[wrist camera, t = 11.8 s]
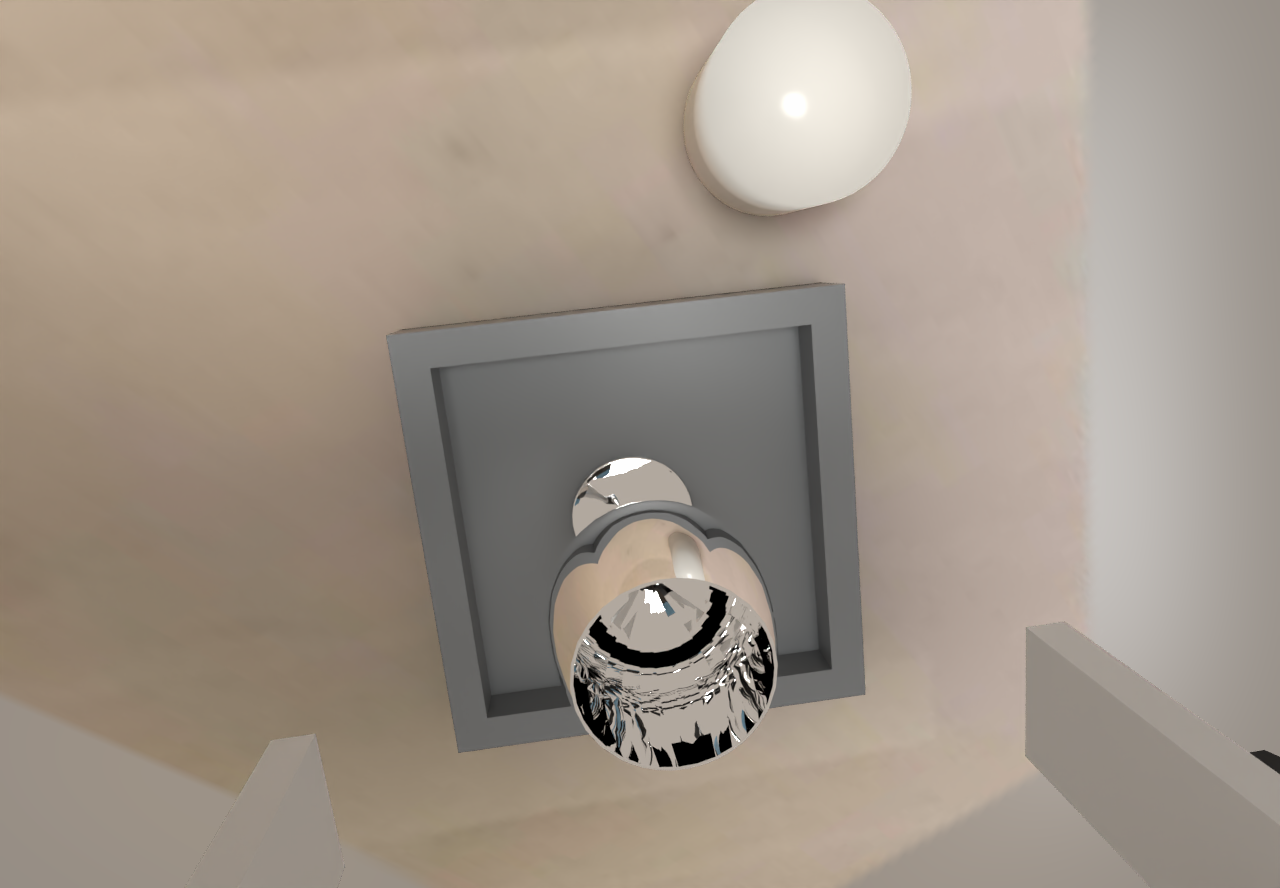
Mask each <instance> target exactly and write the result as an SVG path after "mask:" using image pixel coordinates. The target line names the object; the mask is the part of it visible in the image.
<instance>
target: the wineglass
mask: <svg viewBox="0 0 1280 888" xmlns="http://www.w3.org/2000/svg"><path fill="white" fill-rule="evenodd" d="M571 521H572V528H573V532H574V535H575V539H574V540H573V542H572V543H571V544H570V545H569V547H568V548H567V549H566V551H565V553H564V555H563V556H562V558H561V560H560V562H559V564H558V567H557V569H556V572H555V575H554V577H553V580H552V583H551V587H550V591H549V596H548V609H547V628H548V640H549V646H550V650H551V654H552V658H553V662H554V666H555V669H556V672H557V675H558V677H559V680H560V683H561V685H562V687H563V689H564V691H565V693H566V696H567V698H568V700H569V702H570V704H571V706H572V708H573V710H574V712H575V713H576V715H577V717H578V718H579V720H580V722H581V723H582V725H583V726H584V728H585V730H586V731H587V732H588V733H589V734H590V735H591V736H592V738H593V739H594V740H595V741H596V742H597V743H598V744H599V745H600V746H601V747H602V748H604V749H605V750H607V751H608V752H610V753H611V754H613V755H614V756H616V757H617V758H619V759H621V760H623V761H625V762H627V763H630V764H632V765H636V766H639V767H643V768H648V769H654V770H681V769H689V768H693V767H697V766H700V765H704V764H707V763H710V762H712V761H714V760H716V759H718V758H720V757H722V756H724V755H726V754H728V753H729V752H731V751H732V750H733V749H735V748H736V747H737V746H739V745H740V744H742V743H743V742H744V741H745V740H746V739H747V738H748V737H749V736H750V735H751V734H752V732H753V731H754V730H755V729H756V728H757V727H758V726H759V724H760V722H761V721H762V719H763V717H764V716H765V714H766V713H767V711H768V709H769V707H770V704H771V701H772V698H773V695H774V692H775V689H776V681H777V668H778V643H777V628H776V622H775V616H774V610H773V604H772V600H771V597H770V593H769V590H768V586H767V584H766V581H765V579H764V577H763V574H762V572H761V570H760V568H759V566H758V564H757V562H756V560H755V558H754V557H753V555H752V554H751V552H750V551H749V549H748V548H747V547H746V545H745V544H744V543H743V541H742V540H741V539H740V538H739V537H738V536H737V535H736V534H735V533H734V532H733V531H732V530H731V529H729V528H728V527H727V526H726V525H724V524H723V523H721V522H720V521H719V520H717V519H716V518H714V517H713V516H712V515H710V514H709V513H707V512H705V511H703V510H701V509H698V508H696V507H694V506H693V503H692V499H691V495H690V492H689V490H688V488H687V486H686V484H685V483H684V481H683V480H682V478H681V477H680V476H679V475H678V474H677V473H676V472H675V471H674V470H673V469H672V468H670V467H669V466H667V465H666V464H664V463H662V462H660V461H657V460H655V459H652V458H649V457H642V456H625V457H619V458H616V459H613V460H610V461H607V462H605V463H603V464H602V465H600V466H599V467H597V468H595V469H594V470H593V471H592V472H591V473H590V474H589V475H588V476H587V477H586V478H585V479H584V480H583V482H582V483H581V485H580V486H579V488H578V489H577V492H576V495H575V497H574V500H573V504H572V511H571Z"/></svg>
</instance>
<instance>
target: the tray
mask: <svg viewBox="0 0 1280 888" xmlns="http://www.w3.org/2000/svg"><path fill="white" fill-rule="evenodd" d="M386 337H387V343H388V349H389V355H390V360H391V366H392V372H393V378H394V383H395V389H396V395H397V401H398V407H399V412H400V418H401V424H402V430H403V435H404V441H405V447H406V453H407V458H408V464H409V470H410V476H411V482H412V487H413V493H414V499H415V505H416V510H417V516H418V522H419V528H420V533H421V539H422V545H423V551H424V557H425V562H426V568H427V574H428V580H429V585H430V591H431V597H432V603H433V608H434V614H435V620H436V626H437V632H438V637H439V643H440V649H441V655H442V660H443V666H444V672H445V678H446V683H447V689H448V695H449V701H450V707H451V712H452V718H453V724H454V730H455V735H456V741H457V747H458V753H461V752H468V751H475V750H482V749H489V748H496V747H503V746H510V745H517V744H524V743H531V742H538V741H545V740H552V739H559V738H566V737H573V736H580V735H587V734H589V733H588V732H587V731H586V730H585V728H584V726H583V725H582V723H581V722H580V720H579V718H578V717H577V715H576V713H575V712H574V710H573V708H572V706H571V704H570V702H569V700H568V698H567V696H566V693H565V691H564V689H563V687H562V685H561V683H560V680H559V677H558V675H557V672H556V669H555V666H554V662H553V658H552V654H551V650H550V646H549V640H548V628H547V609H548V596H549V591H550V587H551V583H552V580H553V577H554V575H555V572H556V569H557V567H558V564H559V562H560V560H561V558H562V556H563V555H564V553H565V551H566V549H567V548H568V547H569V545H570V544H571V543H572V542H573V540H574V539H575V535H574V532H573V528H572V521H571V511H572V504H573V500H574V497H575V495H576V492H577V489H578V488H579V486H580V485H581V483H582V482H583V480H584V479H585V478H586V477H587V476H588V475H589V474H590V473H591V472H592V471H593V470H594V469H595V468H597V467H599V466H600V465H602V464H603V463H605V462H607V461H610V460H613V459H616V458H619V457H625V456H642V457H649V458H652V459H655V460H657V461H660V462H662V463H664V464H666V465H667V466H669V467H670V468H672V469H673V470H674V471H675V472H676V473H677V474H678V475H679V476H680V477H681V478H682V480H683V481H684V483H685V484H686V486H687V488H688V490H689V492H690V495H691V499H692V503H693V506H694V507H696V508H698V509H701V510H703V511H705V512H707V513H709V514H710V515H712V516H713V517H714V518H716V519H717V520H719V521H720V522H721V523H723V524H724V525H726V526H727V527H728V528H729V529H731V530H732V531H733V532H734V533H735V534H736V535H737V536H738V537H739V538H740V539H741V540H742V541H743V543H744V544H745V545H746V547H747V548H748V549H749V551H750V552H751V554H752V555H753V557H754V558H755V560H756V562H757V564H758V566H759V568H760V570H761V572H762V574H763V577H764V579H765V581H766V584H767V586H768V590H769V593H770V597H771V600H772V604H773V610H774V616H775V622H776V628H777V643H778V668H777V681H776V689H775V692H774V695H773V698H772V701H771V704H770V707H769V708H775V707H782V706H789V705H796V704H803V703H810V702H816V701H823V700H830V699H837V698H844V697H851V696H858V695H865V675H864V655H863V635H862V616H861V596H860V576H859V556H858V537H857V517H856V497H855V477H854V458H853V438H852V418H851V398H850V379H849V359H848V339H847V319H846V300H845V284H837V283H814V284H805V285H796V286H787V287H778V288H769V289H760V290H751V291H742V292H733V293H724V294H715V295H706V296H698V297H689V298H680V299H671V300H662V301H653V302H644V303H635V304H626V305H617V306H608V307H599V308H590V309H581V310H573V311H564V312H555V313H546V314H537V315H528V316H519V317H510V318H501V319H492V320H483V321H474V322H465V323H457V324H448V325H439V326H430V327H421V328H412V329H403V330H400V331H397V332H394V333H391V334H389V335H386Z"/></svg>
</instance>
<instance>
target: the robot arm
mask: <svg viewBox="0 0 1280 888" xmlns="http://www.w3.org/2000/svg"><path fill="white" fill-rule="evenodd" d="M1025 756H1026V757H1027V758H1028V759H1029V760H1030V761H1031V763H1032V764H1033V765H1034V766H1035V767H1036V768H1037V769H1038V770H1039V771H1040V772H1041V773H1042V774H1043V775H1044V776H1045V777H1046V778H1047V779H1048V780H1049V781H1050V783H1051V784H1052V785H1053V786H1054V787H1055V788H1056V789H1057V790H1058V791H1059V792H1060V793H1061V794H1062V795H1063V796H1064V797H1065V798H1066V799H1067V800H1068V801H1069V802H1070V804H1071V805H1073V807H1074V808H1075V809H1076V810H1077V811H1078V812H1079V813H1080V814H1081V815H1082V816H1083V817H1084V818H1085V819H1086V820H1087V821H1088V822H1089V824H1090V825H1091V826H1092V827H1093V828H1094V829H1095V830H1096V831H1097V832H1098V833H1099V834H1100V835H1101V836H1102V837H1103V838H1104V839H1105V840H1106V841H1107V843H1108V844H1109V845H1110V846H1111V847H1112V848H1113V849H1114V850H1115V851H1116V852H1117V853H1118V854H1119V855H1120V856H1121V857H1122V858H1123V859H1124V860H1125V862H1126V863H1127V864H1128V865H1129V866H1130V867H1131V868H1132V869H1133V870H1134V871H1135V872H1136V873H1137V874H1138V875H1139V876H1140V877H1141V878H1142V879H1143V880H1144V881H1145V883H1146V884H1147V885H1148V886H1149V887H1150V888H1280V757H1279V756H1277V755H1274V754H1272V753H1270V752H1268V751H1265V750H1262V751H1257V752H1250V753H1249V752H1248V751H1246V750H1245V749H1243V748H1242V747H1240V746H1239V745H1238V744H1236V743H1235V742H1234V741H1232V740H1231V739H1229V738H1228V737H1227V736H1225V735H1224V734H1222V733H1221V732H1219V731H1218V730H1217V729H1215V728H1214V727H1212V726H1211V725H1210V724H1208V723H1207V722H1205V721H1204V720H1202V719H1201V718H1200V717H1198V716H1197V715H1195V714H1194V713H1193V712H1191V711H1190V710H1188V709H1187V708H1186V707H1184V706H1183V705H1181V704H1180V703H1179V702H1177V701H1175V700H1174V699H1173V698H1172V697H1170V696H1169V695H1167V694H1166V693H1164V692H1163V691H1162V690H1160V689H1159V688H1157V687H1156V686H1155V685H1153V684H1152V683H1150V682H1149V681H1148V680H1146V679H1145V678H1143V677H1142V676H1140V675H1139V674H1138V673H1136V672H1135V671H1133V670H1132V669H1131V668H1129V667H1128V666H1126V665H1125V664H1124V663H1122V662H1121V661H1119V660H1118V659H1116V658H1115V657H1114V656H1112V655H1111V654H1110V653H1108V652H1107V651H1105V650H1104V649H1102V648H1101V647H1100V646H1098V645H1097V644H1095V643H1094V642H1093V641H1091V640H1090V639H1088V638H1087V637H1086V636H1084V635H1083V634H1081V633H1080V632H1079V631H1077V630H1076V629H1074V628H1073V627H1071V626H1070V625H1069V624H1067V623H1066V622H1059V623H1052V624H1046V625H1039V626H1032V627H1026V740H1025ZM344 868H345V864H344V860H343V855H342V851H341V846H340V842H339V837H338V833H337V828H336V824H335V819H334V815H333V810H332V806H331V801H330V797H329V792H328V787H327V783H326V778H325V774H324V769H323V765H322V760H321V756H320V751H319V747H318V742H317V738H316V734H309V735H303V736H296V737H289V738H283V739H276V740H271V741H270V743H269V744H268V746H267V748H266V750H265V751H264V753H263V755H262V756H261V758H260V760H259V762H258V763H257V765H256V767H255V768H254V770H253V772H252V773H251V775H250V777H249V779H248V780H247V782H246V784H245V785H244V787H243V789H242V791H241V792H240V794H239V796H238V797H237V799H236V801H235V803H234V804H233V806H232V808H231V809H230V811H229V813H228V814H227V816H226V818H225V820H224V821H223V823H222V825H221V827H220V828H219V830H218V831H217V833H216V835H215V837H214V838H213V840H212V842H211V844H210V845H209V847H208V849H207V850H206V852H205V854H204V855H203V857H202V859H201V861H200V862H199V864H198V866H197V867H196V869H195V871H194V872H193V874H192V876H191V878H190V879H189V881H188V883H187V884H186V886H185V888H338V885H339V882H340V879H341V877H342V873H343V871H344Z"/></svg>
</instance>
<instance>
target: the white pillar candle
mask: <svg viewBox="0 0 1280 888" xmlns="http://www.w3.org/2000/svg"><path fill="white" fill-rule="evenodd" d="M911 95H912V84H911V74H910V68H909V64H908V59H907V56H906V53H905V50H904V48H903V45H902V43H901V41H900V39H899V37H898V35H897V33H896V31H895V30H894V28H893V27H892V25H891V24H890V22H889V21H888V20H887V18H886V17H885V16H884V15H883V14H882V13H881V12H880V11H879V10H878V9H877V8H876V7H875V6H874V5H872V4H871V3H870V2H869V1H868V0H756V1H755V2H753V3H752V4H750V5H749V6H748V7H747V8H746V9H745V10H744V11H742V12H741V13H740V14H739V16H738V17H737V18H736V19H735V20H734V21H733V22H732V24H731V25H730V26H729V28H728V29H727V31H726V32H725V34H724V35H723V37H722V39H721V40H720V42H719V43H718V45H717V46H716V48H715V49H714V51H713V52H712V54H711V55H710V57H709V58H708V60H707V61H706V63H705V64H704V66H703V67H702V69H701V70H700V72H699V73H698V75H697V76H696V78H695V80H694V82H693V84H692V86H691V89H690V92H689V94H688V97H687V101H686V105H685V110H684V119H683V135H684V142H685V148H686V151H687V155H688V158H689V161H690V163H691V165H692V168H693V170H694V172H695V173H696V175H697V177H698V178H699V180H700V181H701V182H702V184H703V185H704V186H705V188H706V189H707V190H708V191H709V192H710V193H711V194H712V195H713V196H714V197H716V198H717V199H718V200H720V201H721V202H722V203H724V204H726V205H727V206H729V207H731V208H733V209H735V210H738V211H740V212H743V213H747V214H751V215H758V216H777V215H782V214H787V213H791V212H795V211H799V210H803V209H807V208H811V207H815V206H819V205H823V204H827V203H831V202H834V201H837V200H840V199H843V198H845V197H847V196H849V195H851V194H853V193H855V192H856V191H858V190H859V189H861V188H863V187H864V186H866V185H867V184H868V183H869V182H870V181H871V180H873V179H874V178H875V177H876V176H877V175H878V174H879V173H880V172H881V171H882V170H883V168H884V167H885V166H886V165H887V163H888V162H889V161H890V159H891V158H892V156H893V155H894V153H895V151H896V149H897V148H898V146H899V144H900V142H901V139H902V137H903V134H904V132H905V129H906V126H907V122H908V118H909V114H910V107H911Z"/></svg>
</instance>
